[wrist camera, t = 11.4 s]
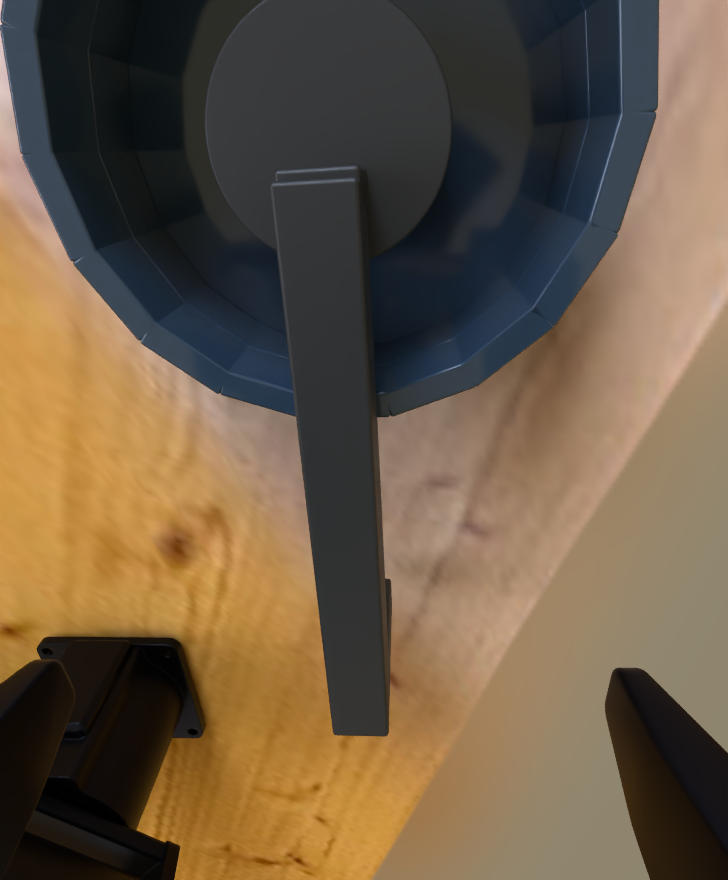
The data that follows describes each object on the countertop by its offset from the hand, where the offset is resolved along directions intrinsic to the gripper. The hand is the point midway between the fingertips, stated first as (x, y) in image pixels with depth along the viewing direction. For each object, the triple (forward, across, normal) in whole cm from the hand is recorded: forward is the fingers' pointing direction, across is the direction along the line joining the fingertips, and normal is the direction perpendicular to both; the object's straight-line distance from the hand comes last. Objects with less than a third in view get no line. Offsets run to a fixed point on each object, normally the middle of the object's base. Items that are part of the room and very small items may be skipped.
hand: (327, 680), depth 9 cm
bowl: (+11, 0, -8) cm, 13 cm away
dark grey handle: (+10, 0, -1) cm, 10 cm away
